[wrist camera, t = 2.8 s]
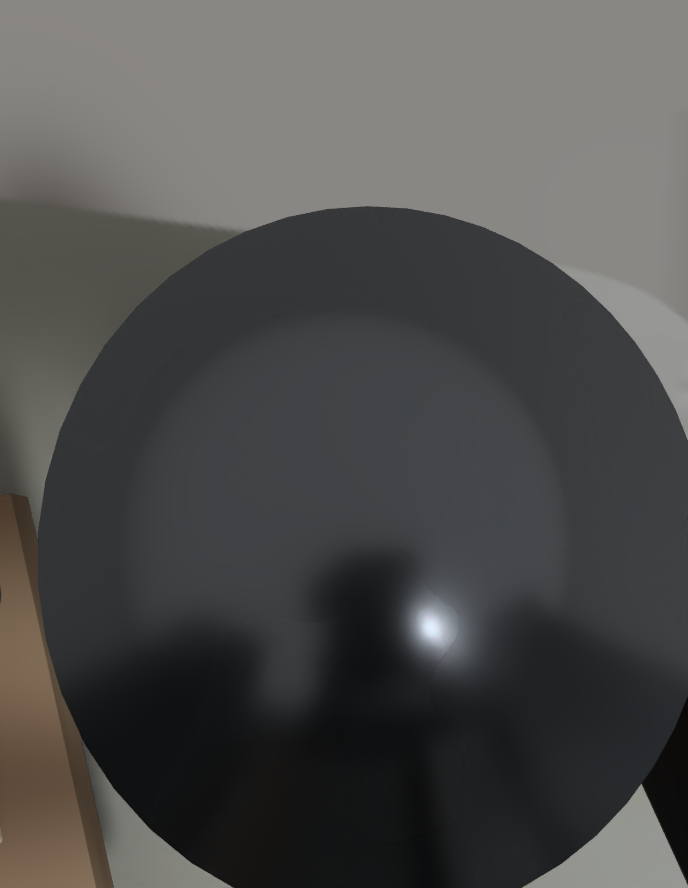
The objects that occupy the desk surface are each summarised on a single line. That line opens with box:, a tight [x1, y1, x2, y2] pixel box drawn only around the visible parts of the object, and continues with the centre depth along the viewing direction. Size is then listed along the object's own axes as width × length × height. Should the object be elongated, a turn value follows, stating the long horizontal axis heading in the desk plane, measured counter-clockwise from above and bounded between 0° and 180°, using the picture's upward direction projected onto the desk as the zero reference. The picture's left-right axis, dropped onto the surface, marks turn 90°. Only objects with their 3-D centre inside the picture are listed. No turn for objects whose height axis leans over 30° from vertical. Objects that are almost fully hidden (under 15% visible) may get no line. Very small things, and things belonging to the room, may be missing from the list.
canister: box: [38, 206, 688, 888], centre depth 10 cm, size 5×5×13 cm
